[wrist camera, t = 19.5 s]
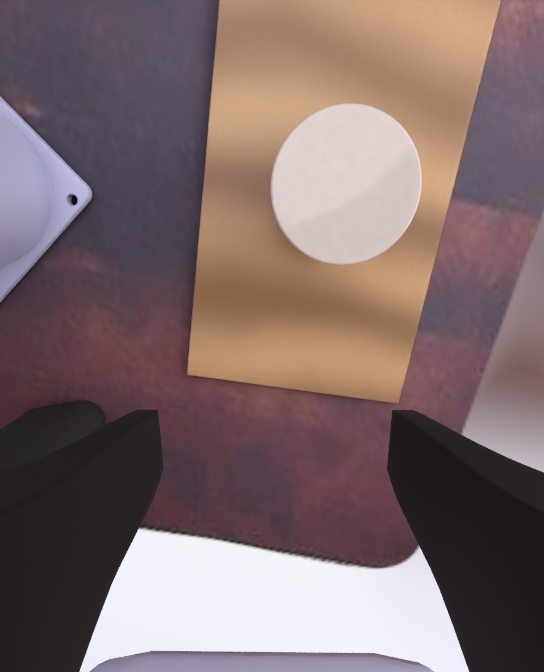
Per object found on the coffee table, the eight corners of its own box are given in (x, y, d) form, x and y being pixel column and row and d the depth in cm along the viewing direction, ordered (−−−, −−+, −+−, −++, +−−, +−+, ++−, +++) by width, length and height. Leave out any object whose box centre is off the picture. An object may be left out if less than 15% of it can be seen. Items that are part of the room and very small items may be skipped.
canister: (250, 200, 18) (238, 184, 12) (331, 119, 17) (356, 63, 11) (319, 279, 19) (337, 294, 13) (400, 206, 18) (453, 191, 12)
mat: (395, 400, 21) (398, 404, 20) (188, 371, 21) (186, 375, 20) (500, -19, 16) (508, -27, 15) (226, -65, 15) (225, -75, 15)
